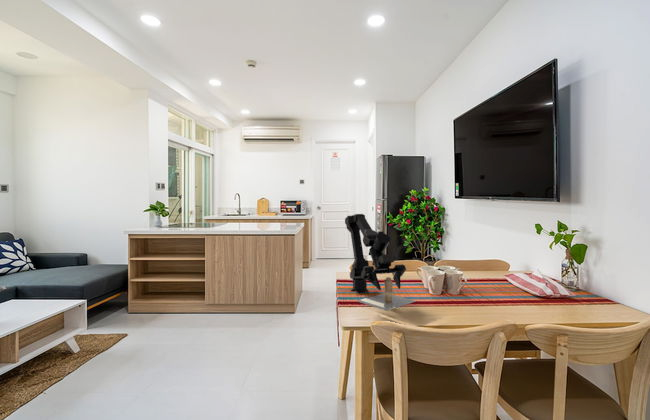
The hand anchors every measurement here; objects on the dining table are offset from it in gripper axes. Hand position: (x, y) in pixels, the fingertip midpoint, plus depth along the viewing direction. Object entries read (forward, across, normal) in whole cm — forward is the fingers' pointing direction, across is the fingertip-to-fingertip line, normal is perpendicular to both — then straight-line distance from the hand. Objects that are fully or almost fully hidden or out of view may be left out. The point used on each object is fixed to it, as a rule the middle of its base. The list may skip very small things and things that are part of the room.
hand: (390, 289), depth 135 cm
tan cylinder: (+4, 0, +6) cm, 8 cm away
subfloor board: (0, +3, +13) cm, 13 cm away
